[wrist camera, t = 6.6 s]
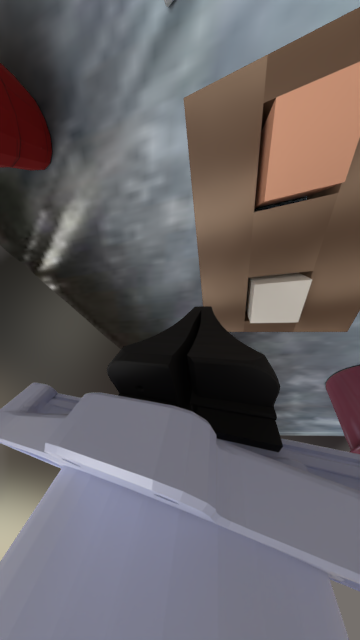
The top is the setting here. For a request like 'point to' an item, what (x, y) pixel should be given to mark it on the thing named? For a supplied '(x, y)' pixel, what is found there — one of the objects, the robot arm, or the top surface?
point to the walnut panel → (279, 222)
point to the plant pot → (347, 403)
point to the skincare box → (168, 2)
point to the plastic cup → (21, 127)
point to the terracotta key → (309, 138)
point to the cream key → (276, 297)
